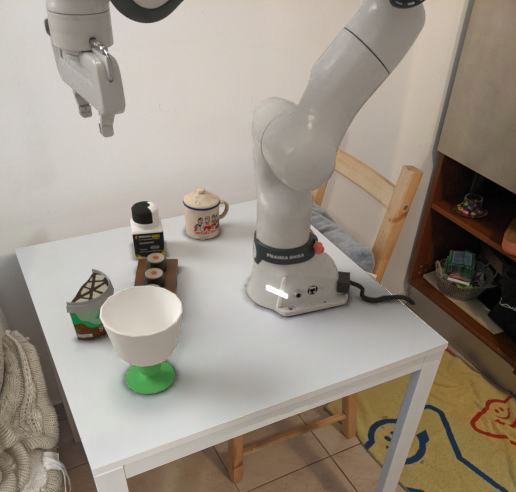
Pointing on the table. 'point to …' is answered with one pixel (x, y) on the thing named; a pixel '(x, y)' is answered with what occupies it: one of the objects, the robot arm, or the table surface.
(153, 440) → the table surface
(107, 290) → the food container
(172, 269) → the sushi board
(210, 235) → the teacup with lid
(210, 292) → the table surface
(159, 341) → the cup
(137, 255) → the medicine bottle
